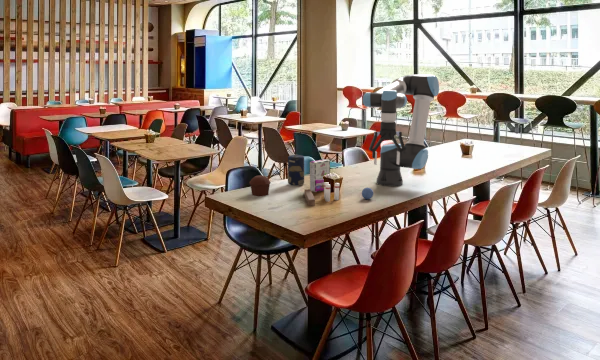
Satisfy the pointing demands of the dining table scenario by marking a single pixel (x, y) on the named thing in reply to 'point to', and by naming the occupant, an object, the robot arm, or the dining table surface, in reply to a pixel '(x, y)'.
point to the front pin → (336, 191)
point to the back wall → (309, 197)
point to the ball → (367, 193)
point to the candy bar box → (318, 174)
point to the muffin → (260, 185)
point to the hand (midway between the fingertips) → (386, 164)
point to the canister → (296, 170)
